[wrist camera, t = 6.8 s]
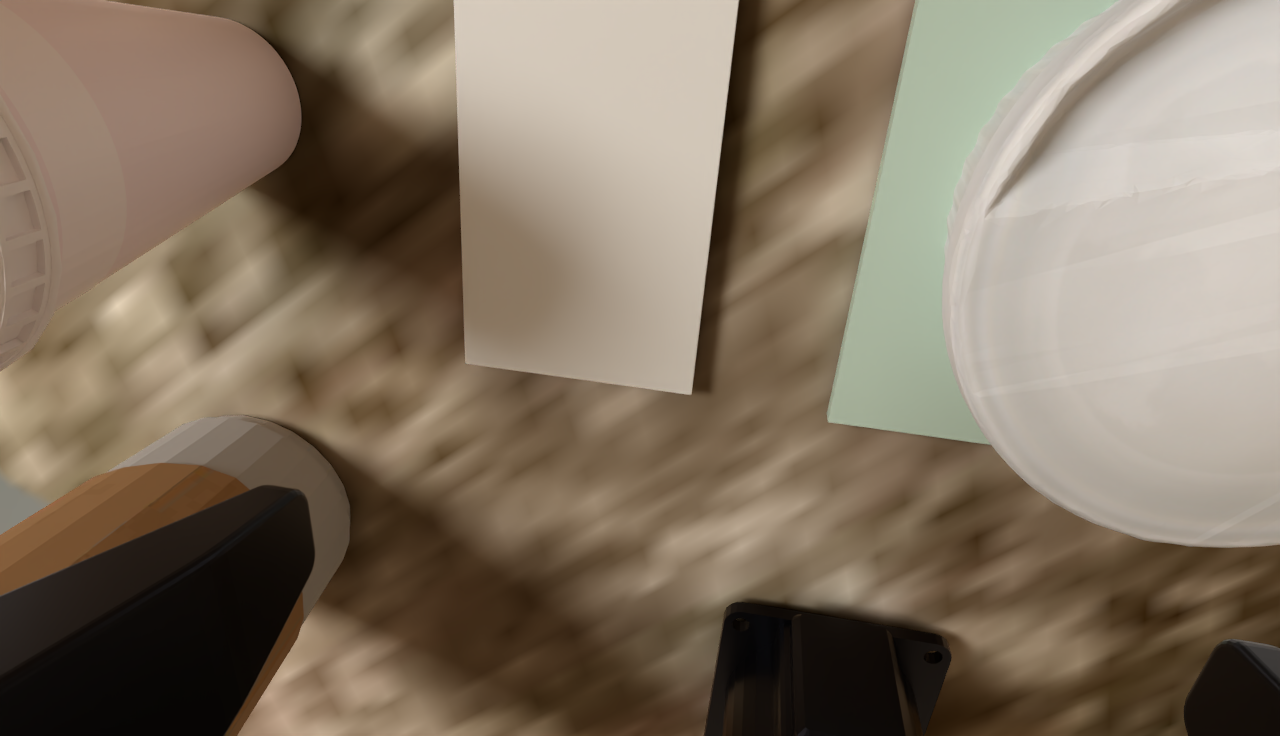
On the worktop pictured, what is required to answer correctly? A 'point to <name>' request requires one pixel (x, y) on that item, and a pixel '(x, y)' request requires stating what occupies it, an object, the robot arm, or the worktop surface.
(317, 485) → the coffee cup
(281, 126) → the smoothie
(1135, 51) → the ramekin
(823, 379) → the worktop surface
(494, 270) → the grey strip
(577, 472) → the worktop surface
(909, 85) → the wooden handled dough scraper
